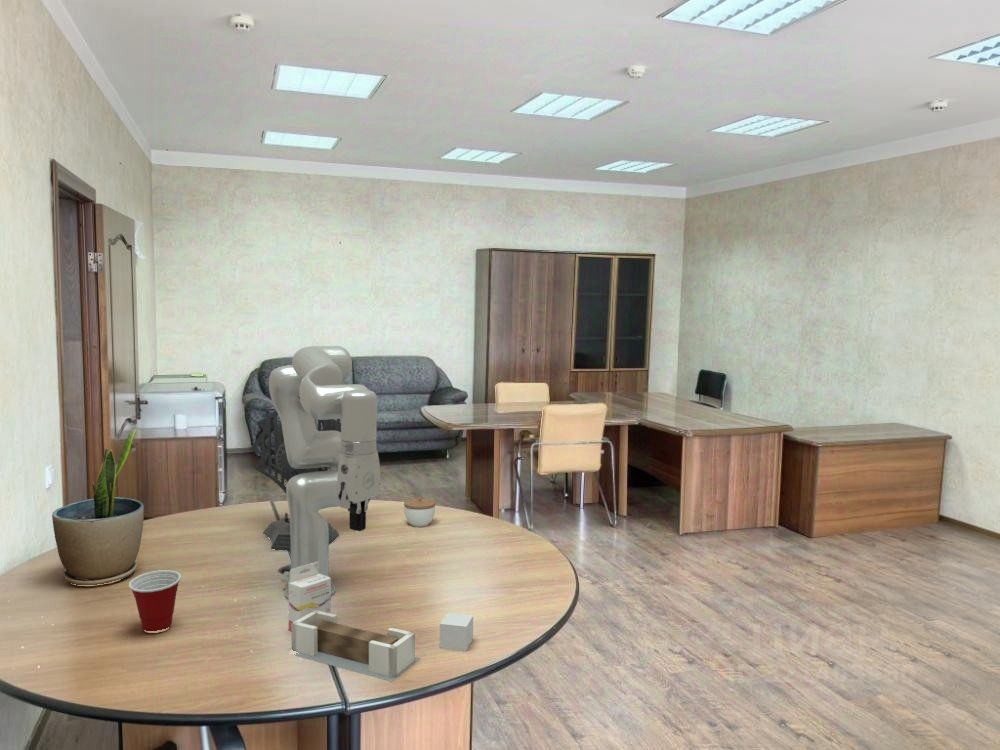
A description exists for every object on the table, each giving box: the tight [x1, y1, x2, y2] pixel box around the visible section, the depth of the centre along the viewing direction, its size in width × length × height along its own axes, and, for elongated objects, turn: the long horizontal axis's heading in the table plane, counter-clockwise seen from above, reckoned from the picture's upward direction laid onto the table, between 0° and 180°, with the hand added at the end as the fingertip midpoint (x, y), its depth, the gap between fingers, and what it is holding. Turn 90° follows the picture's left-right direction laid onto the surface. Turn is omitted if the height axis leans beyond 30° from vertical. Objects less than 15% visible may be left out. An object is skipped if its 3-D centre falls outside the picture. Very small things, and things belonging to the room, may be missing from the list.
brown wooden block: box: [312, 620, 398, 665], centre depth 158 cm, size 20×4×5 cm, turn 65°
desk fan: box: [250, 398, 341, 552], centre depth 240 cm, size 34×33×45 cm
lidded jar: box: [403, 496, 436, 528], centre depth 255 cm, size 11×11×9 cm
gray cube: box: [439, 612, 474, 652], centre depth 164 cm, size 6×6×6 cm
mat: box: [293, 652, 421, 682], centre depth 158 cm, size 27×11×1 cm, turn 65°
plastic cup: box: [128, 569, 182, 631], centre depth 169 cm, size 11×11×12 cm
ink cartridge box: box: [288, 562, 332, 632], centre depth 171 cm, size 9×5×15 cm, turn 141°
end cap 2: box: [369, 627, 416, 677], centre depth 153 cm, size 6×8×6 cm
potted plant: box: [51, 428, 145, 585], centre depth 199 cm, size 21×22×40 cm
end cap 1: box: [290, 610, 338, 656], centre depth 162 cm, size 6×8×6 cm
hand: (357, 528), depth 162 cm, fingers closed
